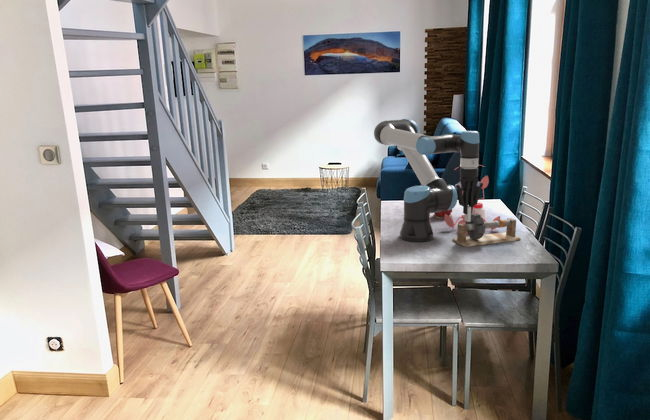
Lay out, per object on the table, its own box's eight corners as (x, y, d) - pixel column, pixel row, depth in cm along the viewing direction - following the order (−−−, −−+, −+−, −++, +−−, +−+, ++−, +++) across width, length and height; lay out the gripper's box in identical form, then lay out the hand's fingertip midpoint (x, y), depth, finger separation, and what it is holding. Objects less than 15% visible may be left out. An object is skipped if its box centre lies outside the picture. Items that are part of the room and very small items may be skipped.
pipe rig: (464, 246, 227) (465, 227, 225) (452, 240, 236) (453, 221, 234) (520, 240, 234) (521, 221, 232) (506, 234, 243) (507, 215, 241)
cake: (447, 221, 269) (448, 186, 265) (430, 219, 274) (430, 185, 270) (454, 216, 278) (455, 182, 274) (437, 214, 283) (438, 181, 279)
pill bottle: (466, 226, 257) (467, 204, 255) (469, 222, 264) (470, 201, 262) (482, 228, 254) (483, 206, 251) (485, 224, 261) (486, 202, 258)
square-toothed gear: (478, 242, 228) (479, 217, 225) (465, 235, 238) (465, 212, 235) (484, 241, 228) (485, 217, 226) (470, 234, 239) (471, 211, 236)
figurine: (500, 183, 264) (499, 243, 246) (447, 180, 271) (443, 239, 253) (503, 164, 252) (502, 226, 234) (448, 162, 258) (443, 223, 240)
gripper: (459, 169, 219) (458, 224, 225) (487, 167, 223) (485, 221, 228) (451, 167, 226) (449, 220, 232) (478, 165, 230) (476, 217, 235)
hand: (467, 220), depth 230 cm, fingers closed
